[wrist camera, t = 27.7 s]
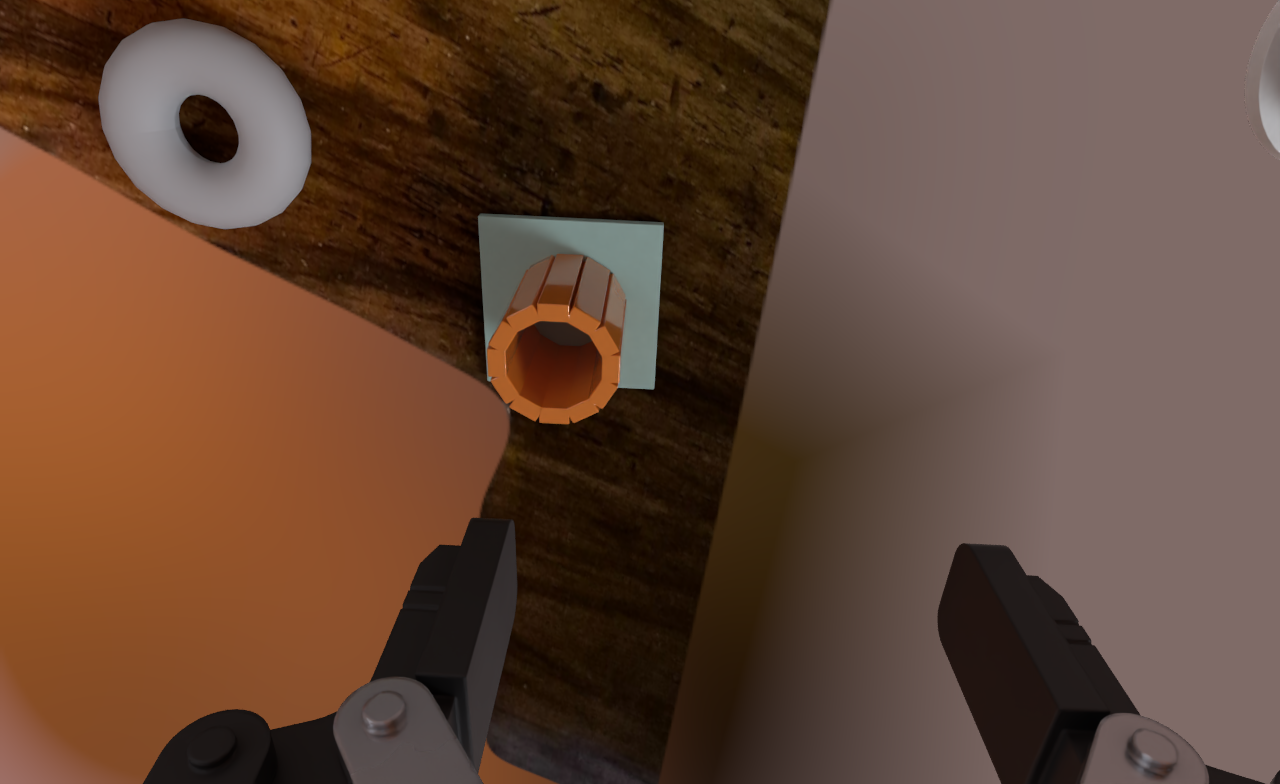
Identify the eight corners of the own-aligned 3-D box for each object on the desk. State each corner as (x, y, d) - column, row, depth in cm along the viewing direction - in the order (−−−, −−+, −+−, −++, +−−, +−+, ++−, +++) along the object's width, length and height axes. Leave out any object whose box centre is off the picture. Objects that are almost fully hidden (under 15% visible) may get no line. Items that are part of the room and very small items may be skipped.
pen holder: (628, 256, 42) (622, 307, 35) (624, 361, 45) (618, 426, 38) (511, 250, 42) (483, 300, 35) (515, 356, 45) (490, 420, 38)
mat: (663, 222, 41) (663, 225, 41) (654, 385, 46) (654, 389, 46) (480, 213, 41) (477, 215, 41) (489, 376, 46) (487, 381, 46)
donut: (355, 190, 41) (262, -12, 36) (332, 208, 38) (227, -10, 33) (194, 238, 43) (84, 51, 38) (158, 259, 40) (35, 58, 35)
